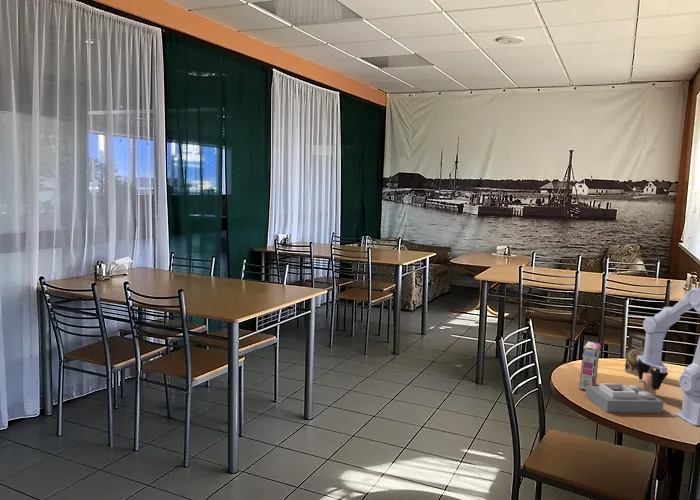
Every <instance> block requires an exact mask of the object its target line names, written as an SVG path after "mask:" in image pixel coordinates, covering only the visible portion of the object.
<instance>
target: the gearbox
mask: <svg viewBox="0 0 700 500" xmlns="http://www.w3.org/2000/svg"><path fill="white" fill-rule="evenodd" d="M641 387H642V386H640V385H639V386H638V385H637V384H627V385H624V384H623V383H605V382H604V383H602V382H601V383H599V385H595V386H586V391H585V394H584V396H585V398H586V399H588V400H589V401H590V402H592V403H593V404H594V405H596V406H597V407H598V408H600V409H601V410H603V411H604V412H606V413H635V414H636V413H639V414H640V413H643V414H645V413H652V414H662V413H664V412H663V410H664V400H662V399H661V398H659V397H657V396H654V395H653V394H651V393H649V392H647V391H645V390H643V389H642V388H641Z"/></svg>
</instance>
